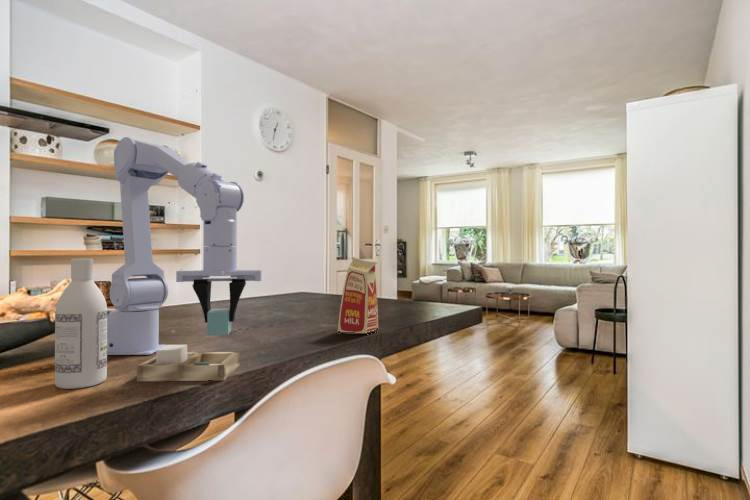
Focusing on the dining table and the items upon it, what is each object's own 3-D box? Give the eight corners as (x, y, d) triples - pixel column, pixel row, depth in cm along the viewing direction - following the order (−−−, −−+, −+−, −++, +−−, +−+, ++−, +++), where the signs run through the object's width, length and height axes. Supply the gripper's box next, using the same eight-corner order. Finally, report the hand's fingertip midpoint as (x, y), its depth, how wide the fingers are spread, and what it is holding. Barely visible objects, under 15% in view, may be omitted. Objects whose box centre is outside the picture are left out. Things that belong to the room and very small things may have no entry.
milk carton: (337, 333, 114) (337, 256, 114) (352, 327, 123) (352, 256, 123) (369, 335, 111) (370, 256, 111) (382, 329, 120) (383, 256, 120)
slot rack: (136, 381, 72) (137, 364, 72) (162, 366, 81) (162, 350, 81) (224, 380, 72) (224, 363, 72) (239, 365, 82) (239, 350, 82)
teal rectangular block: (228, 334, 78) (228, 312, 78) (207, 335, 77) (207, 312, 77) (231, 328, 83) (231, 307, 83) (212, 328, 83) (212, 307, 83)
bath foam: (98, 374, 75) (98, 258, 75) (113, 382, 71) (114, 258, 71) (49, 383, 70) (49, 258, 70) (62, 393, 66) (63, 259, 66)
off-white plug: (177, 374, 74) (177, 350, 74) (155, 374, 74) (156, 350, 74) (189, 365, 80) (190, 343, 80) (170, 365, 80) (170, 343, 80)
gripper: (171, 246, 75) (171, 326, 75) (260, 246, 78) (259, 323, 78) (181, 246, 82) (181, 319, 82) (262, 246, 85) (261, 317, 84)
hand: (219, 321), depth 80 cm, fingers closed on teal rectangular block, 3 cm apart
